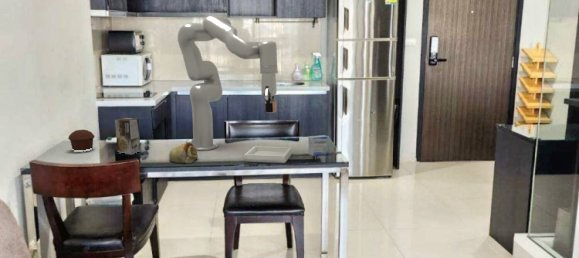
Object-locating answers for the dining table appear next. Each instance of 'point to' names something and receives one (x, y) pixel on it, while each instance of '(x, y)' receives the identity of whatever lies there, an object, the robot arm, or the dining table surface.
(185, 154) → the pastry
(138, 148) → the coffee box
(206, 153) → the dining table surface
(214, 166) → the dining table surface
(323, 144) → the medicine box
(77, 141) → the muffin
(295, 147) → the dining table surface
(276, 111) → the shaker
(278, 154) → the tray
